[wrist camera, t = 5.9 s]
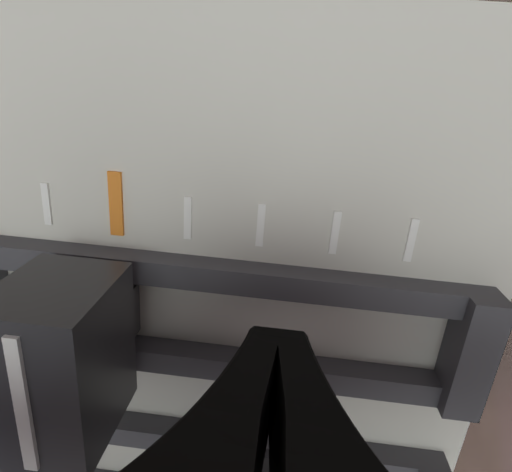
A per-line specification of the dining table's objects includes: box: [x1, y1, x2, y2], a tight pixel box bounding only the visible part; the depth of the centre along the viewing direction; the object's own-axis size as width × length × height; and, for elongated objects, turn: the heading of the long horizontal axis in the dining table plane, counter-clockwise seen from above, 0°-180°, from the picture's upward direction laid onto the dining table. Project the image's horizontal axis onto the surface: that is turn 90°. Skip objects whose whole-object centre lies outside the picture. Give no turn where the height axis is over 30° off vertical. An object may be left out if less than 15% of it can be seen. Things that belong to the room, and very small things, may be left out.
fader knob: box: [0, 253, 141, 472], centre depth 10 cm, size 2×4×4 cm, turn 176°
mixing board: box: [0, 0, 512, 472], centre depth 12 cm, size 16×17×2 cm
